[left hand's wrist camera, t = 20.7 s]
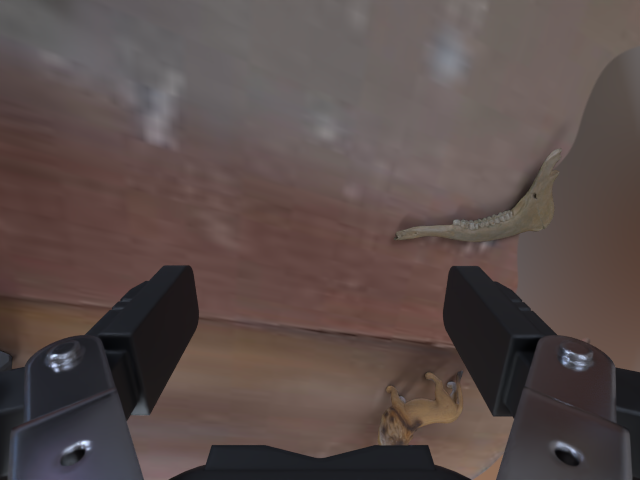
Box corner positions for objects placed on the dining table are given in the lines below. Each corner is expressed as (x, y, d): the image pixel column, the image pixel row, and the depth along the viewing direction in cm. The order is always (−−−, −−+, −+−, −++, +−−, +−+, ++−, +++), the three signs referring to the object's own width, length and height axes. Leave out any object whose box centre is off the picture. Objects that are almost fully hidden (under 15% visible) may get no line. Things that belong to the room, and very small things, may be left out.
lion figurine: (380, 417, 56) (391, 473, 47) (364, 395, 54) (372, 449, 46) (467, 379, 53) (495, 432, 44) (453, 354, 51) (479, 404, 43)
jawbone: (570, 207, 44) (582, 214, 42) (419, 283, 48) (424, 292, 46) (551, 144, 40) (563, 148, 38) (390, 232, 44) (393, 239, 42)
